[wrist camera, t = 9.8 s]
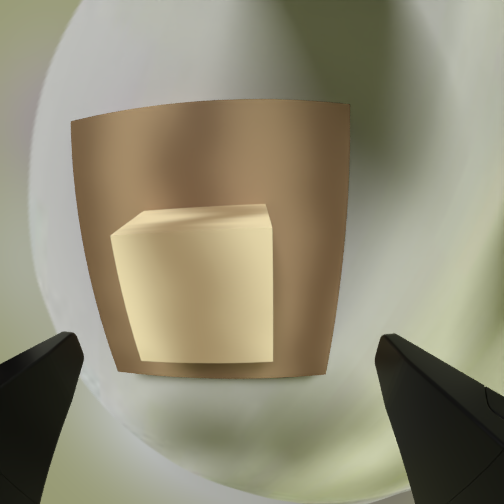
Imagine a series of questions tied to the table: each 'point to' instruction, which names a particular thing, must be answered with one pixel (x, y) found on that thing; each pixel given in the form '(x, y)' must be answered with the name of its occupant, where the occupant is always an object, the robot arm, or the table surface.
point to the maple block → (198, 283)
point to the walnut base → (224, 194)
